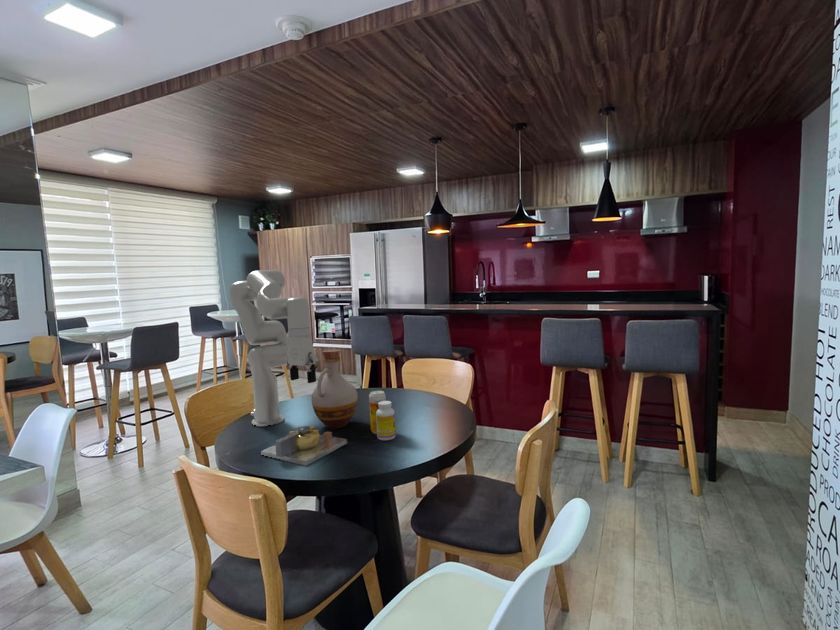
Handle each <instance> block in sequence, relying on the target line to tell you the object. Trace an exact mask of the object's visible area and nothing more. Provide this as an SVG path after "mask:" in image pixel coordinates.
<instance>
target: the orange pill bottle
mask: <svg viewBox="0 0 840 630" xmlns="http://www.w3.org/2000/svg"><path fill="white" fill-rule="evenodd" d="M386 398H387V397H386V393H385V391H383V390H373V391H370V392H369V395H368V401H369V405H368V406H369V419H370V420H369V422H370V431H371V433H372V434H374V435H377V421H376V411H377V410H378V409H379V406H378V403H379V402H381V401H387V399H386Z"/></svg>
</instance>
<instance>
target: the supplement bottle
mask: <svg viewBox="0 0 840 630" xmlns="http://www.w3.org/2000/svg"><path fill="white" fill-rule="evenodd" d="M378 406H379V409H378V410H377V411H376V421H377V434H376V436H377V437H376V438H377V439H378V440H380V441H391V440H394V439H395V438H396V436H397V435H396V415H395V409H394V408H392V407H393V406H392V401H390V400H386V401H381V402H379V403H378Z"/></svg>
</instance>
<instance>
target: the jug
mask: <svg viewBox="0 0 840 630" xmlns="http://www.w3.org/2000/svg"><path fill="white" fill-rule="evenodd" d="M340 353H341V350H340V349H327V350H325V349H324V350H322V355H323V358H322V361H323V362H324V364H325V368H324V369H323V370H322V371H321V373H320V375H319V377H318V380H317V385H316V387H315V388H314V389H313V392H312V393H311V405H312V408H313V411H314V414H315V415H316V418H317V419H319V421H320V422H321V423H322V424H323V425H324V426H325V427H326V428H328V429H341V428H343V427H346V426H348V424H349V423H350V421H351V419H352V418H353V416H354V414H355V412H356V409H357V405H358V399H359V398H358V397H359V396H358V395H359V394H358V392H357V388H355V386H354V385H353V384H352V383H351V382H349V381H348V380H347V379H346V378H345V377H343V376H342V375H341V374H340V371H339V369H340V368H339V365H340V361H341V356H340Z"/></svg>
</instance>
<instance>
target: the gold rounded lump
mask: <svg viewBox="0 0 840 630" xmlns="http://www.w3.org/2000/svg"><path fill="white" fill-rule="evenodd" d="M316 428H317V427H316V426H314V425H313V426H307V425H305V426H299V427H298V428H297V430H290V431H289V432H288V434H287V435H284V436H283V437H281V438H278V439H276V440H275V441H274V443H275V444H274V445H276V456H278V457H283V456H285V455H287V454H289V453H291V452H293V451H295V450H303V449H309V448H313V447H315V446H317V445H318V444H319V443H320V436H319V434H320V429H316Z"/></svg>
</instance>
